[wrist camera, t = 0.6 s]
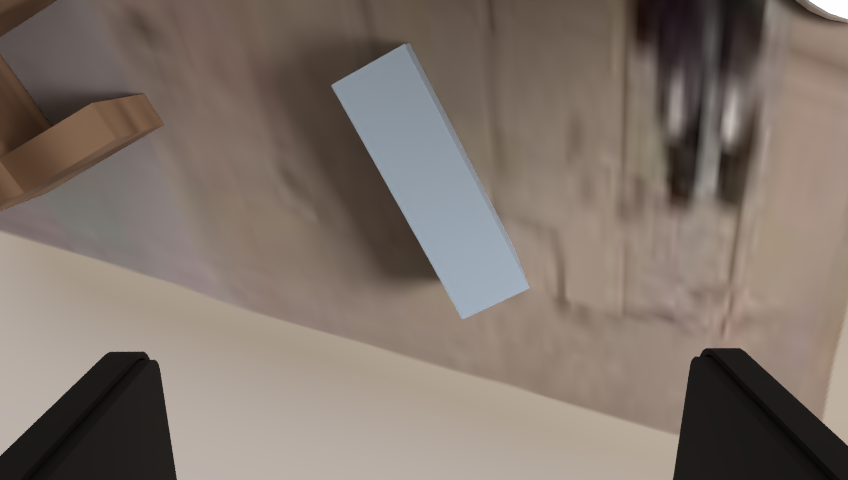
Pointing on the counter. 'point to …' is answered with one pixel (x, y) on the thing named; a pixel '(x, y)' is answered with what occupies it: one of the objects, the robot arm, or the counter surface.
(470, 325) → the counter surface
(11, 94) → the walnut end cap
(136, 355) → the robot arm
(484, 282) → the slate slat
